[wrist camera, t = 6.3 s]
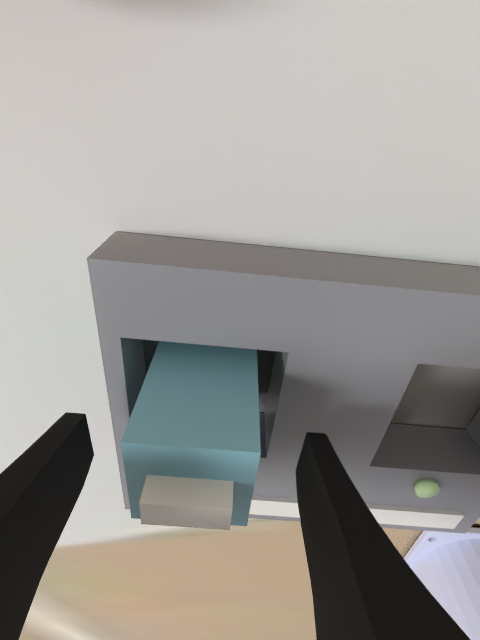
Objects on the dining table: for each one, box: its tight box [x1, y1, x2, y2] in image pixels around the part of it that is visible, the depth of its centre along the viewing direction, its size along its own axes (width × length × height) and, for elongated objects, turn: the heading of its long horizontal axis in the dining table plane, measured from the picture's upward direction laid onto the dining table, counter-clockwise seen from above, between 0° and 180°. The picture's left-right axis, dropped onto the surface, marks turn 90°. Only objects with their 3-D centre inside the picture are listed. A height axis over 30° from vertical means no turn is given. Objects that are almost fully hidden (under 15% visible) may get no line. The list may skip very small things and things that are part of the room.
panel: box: [87, 231, 480, 533], centre depth 14 cm, size 13×17×3 cm
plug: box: [121, 341, 261, 530], centre depth 12 cm, size 4×4×7 cm
